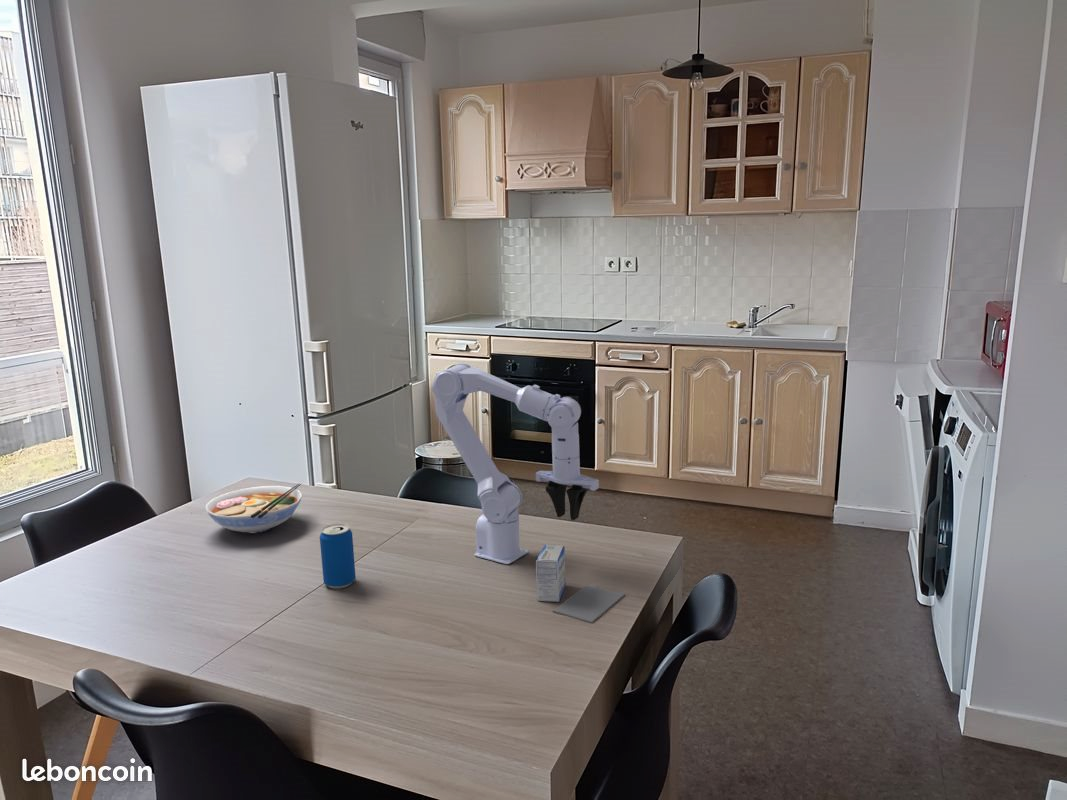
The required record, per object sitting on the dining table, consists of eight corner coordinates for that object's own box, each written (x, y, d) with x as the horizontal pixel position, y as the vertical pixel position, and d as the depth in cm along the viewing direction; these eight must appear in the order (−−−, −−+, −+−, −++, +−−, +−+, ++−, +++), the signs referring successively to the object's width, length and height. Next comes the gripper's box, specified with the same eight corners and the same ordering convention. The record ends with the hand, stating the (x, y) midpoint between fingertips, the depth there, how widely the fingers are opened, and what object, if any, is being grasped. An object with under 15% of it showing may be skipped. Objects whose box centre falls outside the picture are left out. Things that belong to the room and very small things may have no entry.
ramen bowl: (240, 509, 205) (236, 480, 203) (321, 511, 202) (318, 482, 200) (186, 546, 181) (182, 513, 179) (277, 549, 177) (274, 516, 176)
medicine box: (559, 603, 148) (558, 561, 146) (536, 601, 149) (535, 559, 147) (565, 585, 156) (565, 545, 154) (544, 583, 157) (543, 543, 155)
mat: (553, 611, 145) (552, 610, 145) (587, 585, 155) (587, 584, 155) (591, 623, 140) (591, 621, 140) (624, 595, 150) (624, 593, 150)
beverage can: (362, 579, 161) (358, 525, 158) (342, 592, 155) (337, 536, 152) (337, 574, 163) (333, 521, 161) (317, 587, 158) (312, 532, 155)
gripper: (605, 455, 161) (606, 516, 163) (547, 447, 169) (549, 506, 171) (588, 464, 155) (590, 527, 158) (529, 455, 163) (531, 515, 166)
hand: (567, 517), depth 164 cm, fingers open, 3 cm apart
